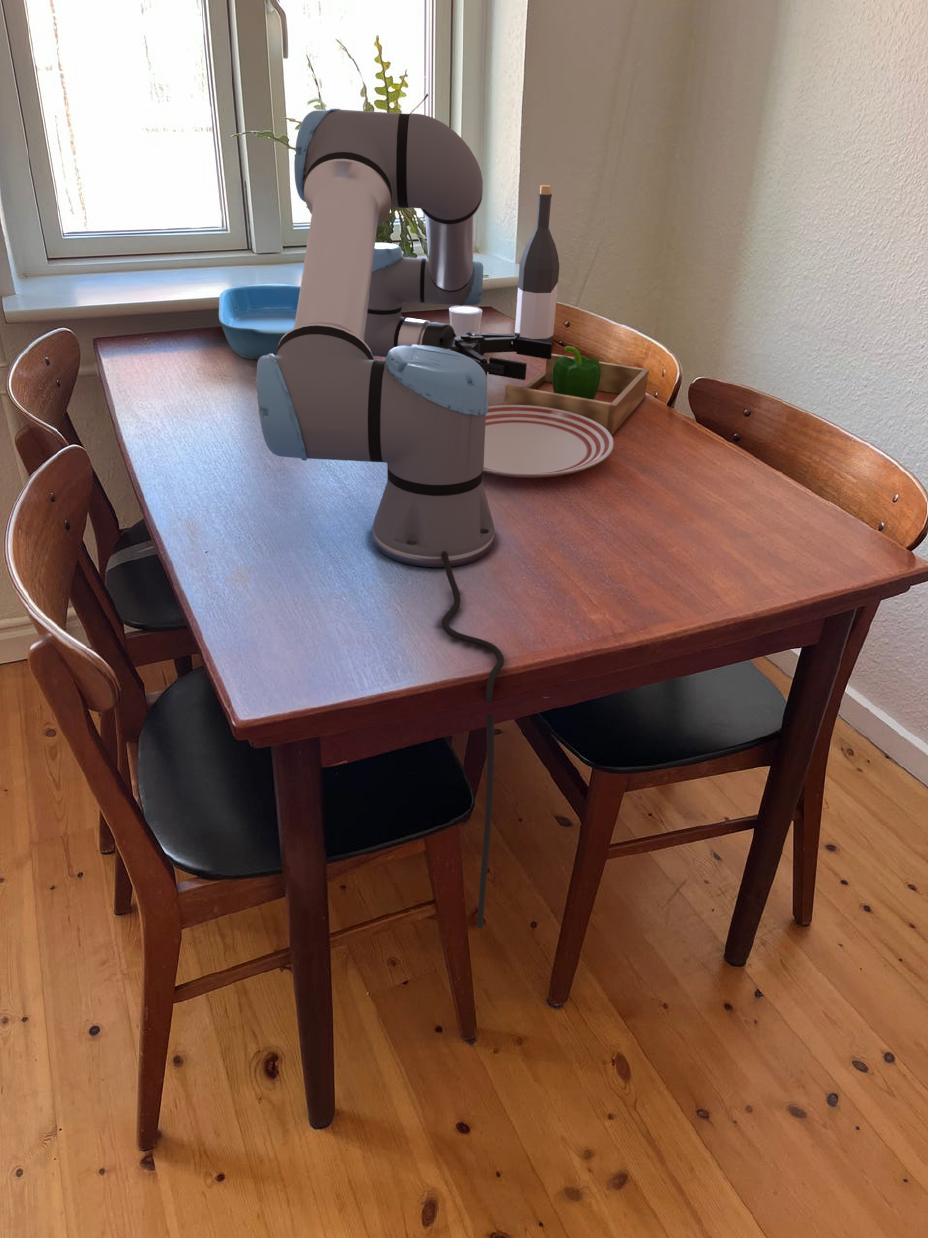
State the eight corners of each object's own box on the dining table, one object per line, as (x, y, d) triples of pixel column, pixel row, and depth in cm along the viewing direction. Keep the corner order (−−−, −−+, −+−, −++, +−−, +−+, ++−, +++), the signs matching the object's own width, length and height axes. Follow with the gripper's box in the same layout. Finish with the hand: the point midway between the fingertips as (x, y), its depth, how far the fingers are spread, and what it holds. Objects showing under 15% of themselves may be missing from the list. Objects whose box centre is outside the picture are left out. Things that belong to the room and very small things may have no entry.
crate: (497, 413, 158) (499, 384, 155) (541, 378, 175) (543, 352, 173) (611, 435, 152) (615, 405, 149) (645, 396, 169) (649, 369, 166)
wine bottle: (516, 334, 200) (526, 181, 184) (553, 337, 200) (567, 184, 184) (512, 344, 194) (523, 186, 178) (551, 347, 193) (565, 189, 177)
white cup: (487, 343, 194) (488, 308, 190) (469, 350, 189) (471, 315, 185) (459, 337, 197) (460, 303, 193) (441, 344, 192) (442, 309, 188)
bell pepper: (607, 406, 164) (614, 348, 158) (579, 416, 158) (585, 358, 153) (569, 393, 168) (575, 338, 163) (540, 403, 163) (545, 346, 158)
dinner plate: (519, 509, 126) (520, 486, 125) (395, 447, 144) (395, 426, 142) (648, 462, 142) (651, 442, 140) (523, 411, 159) (524, 392, 158)
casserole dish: (343, 365, 177) (342, 327, 173) (222, 369, 172) (218, 329, 168) (325, 315, 207) (323, 282, 203) (221, 317, 202) (218, 282, 199)
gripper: (455, 346, 181) (559, 363, 174) (397, 382, 161) (511, 403, 154) (456, 307, 177) (563, 323, 170) (397, 338, 157) (515, 357, 150)
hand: (539, 361), depth 162 cm, fingers open, 13 cm apart
